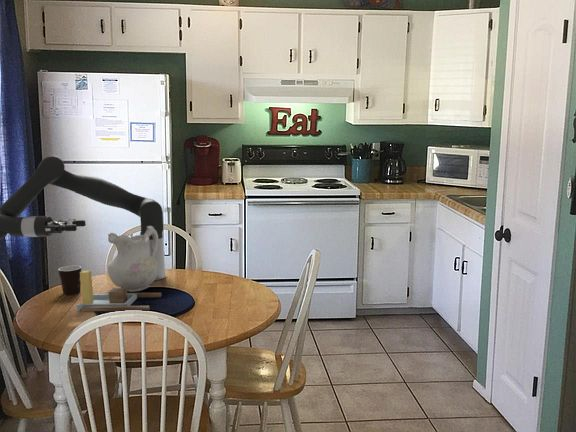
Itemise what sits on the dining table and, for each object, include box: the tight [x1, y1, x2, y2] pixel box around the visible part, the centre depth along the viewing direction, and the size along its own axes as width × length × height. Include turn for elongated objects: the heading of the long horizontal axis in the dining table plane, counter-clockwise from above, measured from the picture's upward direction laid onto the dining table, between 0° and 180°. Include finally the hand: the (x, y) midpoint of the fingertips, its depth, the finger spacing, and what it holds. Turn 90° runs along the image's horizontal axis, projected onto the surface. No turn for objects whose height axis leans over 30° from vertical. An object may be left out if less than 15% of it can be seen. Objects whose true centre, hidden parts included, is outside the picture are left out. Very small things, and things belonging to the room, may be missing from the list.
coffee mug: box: [57, 265, 82, 296], centre depth 264 cm, size 12×9×10 cm
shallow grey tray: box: [76, 269, 138, 312], centre depth 244 cm, size 13×18×13 cm
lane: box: [80, 292, 162, 312], centre depth 244 cm, size 18×24×2 cm
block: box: [108, 287, 128, 303], centre depth 244 cm, size 5×5×5 cm
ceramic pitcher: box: [107, 225, 159, 293], centre depth 263 cm, size 22×20×25 cm
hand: (80, 225), depth 242 cm, fingers open, 8 cm apart
